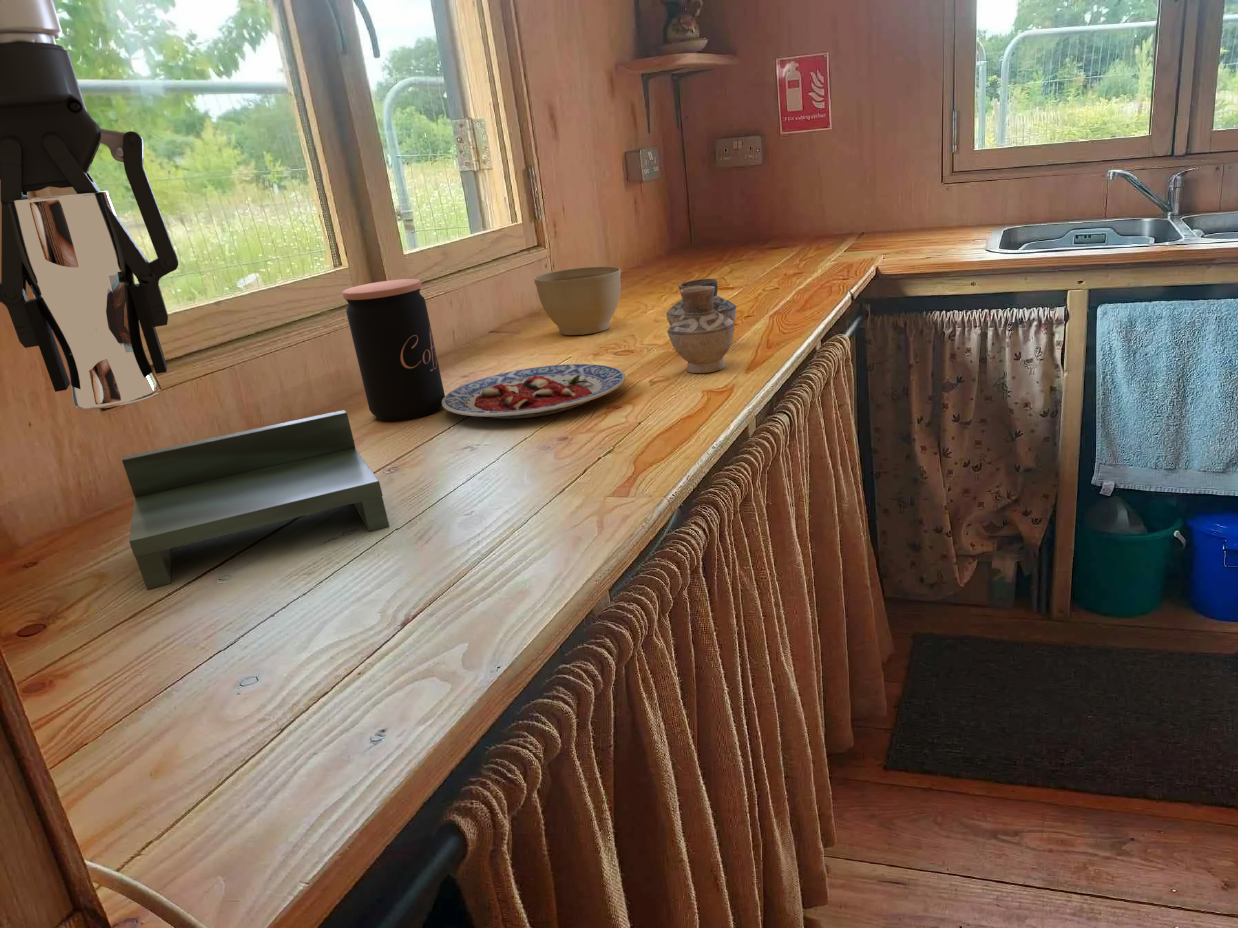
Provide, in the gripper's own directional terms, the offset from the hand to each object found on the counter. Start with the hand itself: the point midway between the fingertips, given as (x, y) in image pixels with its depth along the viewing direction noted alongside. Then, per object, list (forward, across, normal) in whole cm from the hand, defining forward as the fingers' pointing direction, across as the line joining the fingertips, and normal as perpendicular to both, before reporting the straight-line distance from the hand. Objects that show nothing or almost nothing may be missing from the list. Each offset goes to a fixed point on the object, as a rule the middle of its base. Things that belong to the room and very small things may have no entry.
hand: (112, 378), depth 74 cm
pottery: (+21, +74, +49) cm, 91 cm away
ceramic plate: (+21, +45, +45) cm, 67 cm away
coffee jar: (+21, +29, +56) cm, 66 cm away
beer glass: (+2, 0, 0) cm, 2 cm away
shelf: (+21, +7, +17) cm, 28 cm away
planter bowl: (+21, +69, +90) cm, 115 cm away
